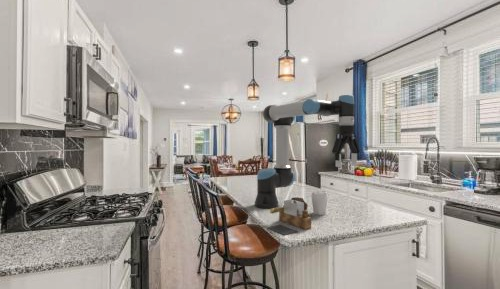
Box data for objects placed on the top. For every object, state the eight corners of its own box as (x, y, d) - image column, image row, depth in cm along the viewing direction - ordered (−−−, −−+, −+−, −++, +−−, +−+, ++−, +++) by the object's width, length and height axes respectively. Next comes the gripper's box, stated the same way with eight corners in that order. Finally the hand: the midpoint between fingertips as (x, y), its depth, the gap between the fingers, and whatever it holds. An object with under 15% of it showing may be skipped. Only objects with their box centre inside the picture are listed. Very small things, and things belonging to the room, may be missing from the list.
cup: (326, 211, 154) (326, 191, 154) (329, 215, 145) (329, 193, 145) (310, 211, 155) (310, 190, 155) (312, 215, 146) (312, 193, 146)
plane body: (279, 220, 136) (279, 205, 136) (284, 219, 138) (284, 203, 138) (305, 229, 121) (305, 212, 121) (311, 228, 124) (311, 211, 124)
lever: (269, 212, 131) (269, 208, 131) (281, 210, 136) (281, 206, 136) (271, 213, 129) (271, 209, 129) (284, 211, 134) (284, 207, 134)
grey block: (283, 212, 132) (283, 199, 132) (291, 211, 135) (291, 198, 135) (296, 216, 125) (296, 202, 125) (304, 214, 128) (304, 201, 128)
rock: (284, 212, 151) (284, 195, 151) (303, 212, 152) (303, 195, 152) (290, 219, 138) (290, 200, 138) (310, 219, 138) (310, 200, 138)
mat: (267, 228, 124) (267, 227, 124) (279, 225, 128) (279, 224, 128) (284, 235, 114) (284, 234, 114) (297, 231, 118) (297, 230, 118)
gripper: (337, 123, 125) (337, 168, 126) (366, 125, 140) (366, 165, 140) (324, 124, 132) (324, 167, 132) (354, 126, 146) (354, 164, 146)
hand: (346, 166), depth 136 cm, fingers open, 13 cm apart
